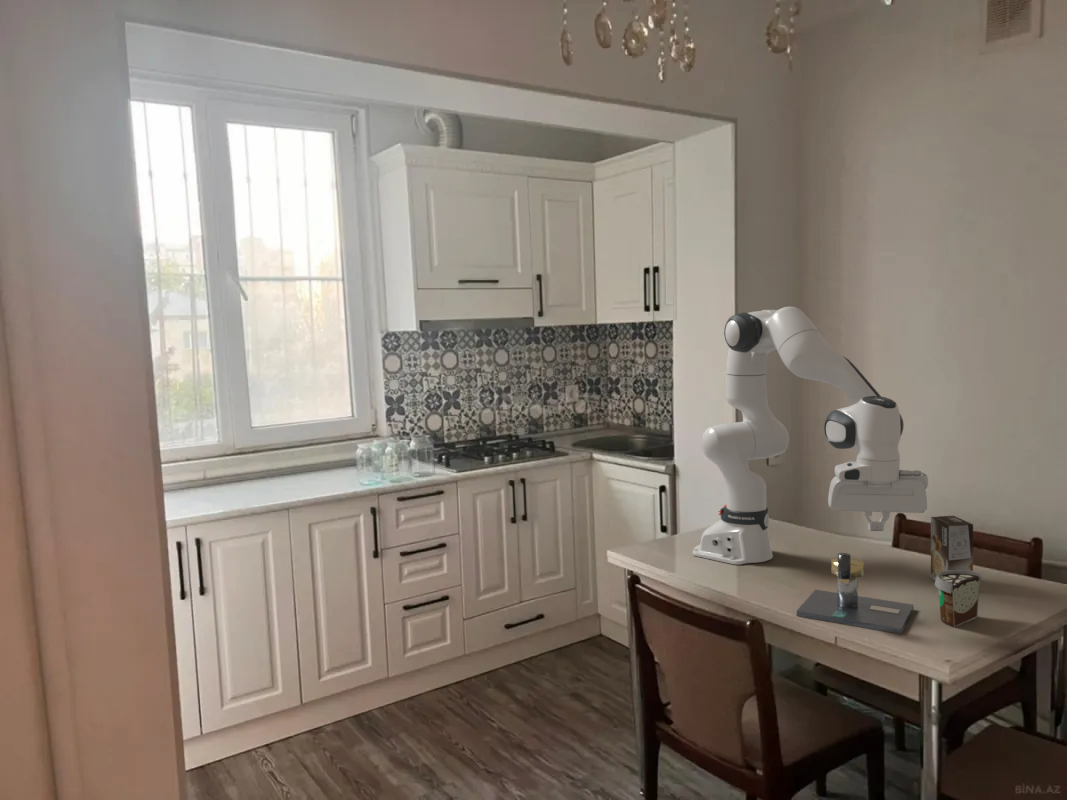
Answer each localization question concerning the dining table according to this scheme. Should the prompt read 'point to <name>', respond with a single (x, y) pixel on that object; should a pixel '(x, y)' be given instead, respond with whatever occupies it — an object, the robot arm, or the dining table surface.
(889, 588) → the dining table surface
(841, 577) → the brass crank knob
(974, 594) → the food container
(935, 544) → the coffee box
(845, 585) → the labelled display base
